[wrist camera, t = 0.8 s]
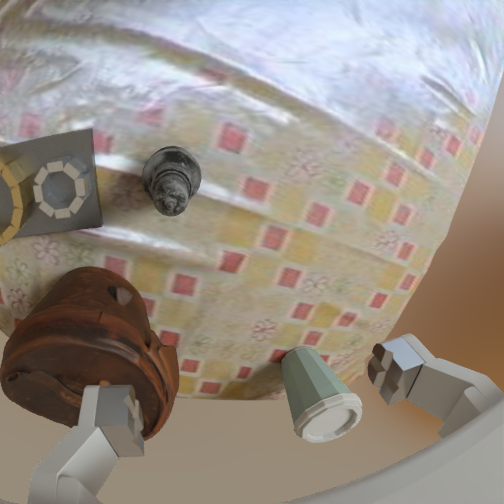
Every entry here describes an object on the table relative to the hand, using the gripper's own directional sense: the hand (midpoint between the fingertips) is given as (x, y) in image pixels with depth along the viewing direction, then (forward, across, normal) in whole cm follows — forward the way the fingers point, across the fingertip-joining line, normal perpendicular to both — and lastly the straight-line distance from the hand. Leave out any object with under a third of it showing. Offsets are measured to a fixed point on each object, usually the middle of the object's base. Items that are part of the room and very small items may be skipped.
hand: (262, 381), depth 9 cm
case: (+29, +14, +15) cm, 36 cm away
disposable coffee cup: (+30, -15, +30) cm, 45 cm away
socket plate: (+28, +21, -2) cm, 35 cm away
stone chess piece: (+28, +3, -2) cm, 28 cm away
